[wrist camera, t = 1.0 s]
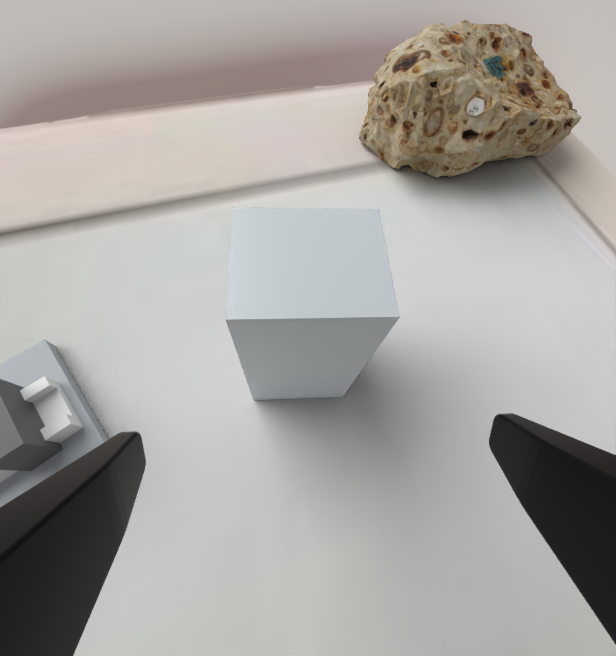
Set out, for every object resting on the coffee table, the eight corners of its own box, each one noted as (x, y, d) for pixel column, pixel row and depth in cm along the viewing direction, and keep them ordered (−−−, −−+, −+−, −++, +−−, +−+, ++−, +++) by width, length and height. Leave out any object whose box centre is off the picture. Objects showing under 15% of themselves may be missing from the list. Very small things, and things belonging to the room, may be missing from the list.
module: (342, 396, 22) (399, 316, 12) (253, 400, 22) (225, 319, 11) (335, 322, 25) (377, 198, 14) (254, 324, 24) (232, 196, 13)
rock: (473, 87, 41) (549, -9, 32) (525, 187, 39) (622, 116, 30) (329, 97, 35) (372, -20, 25) (383, 219, 32) (451, 139, 23)
